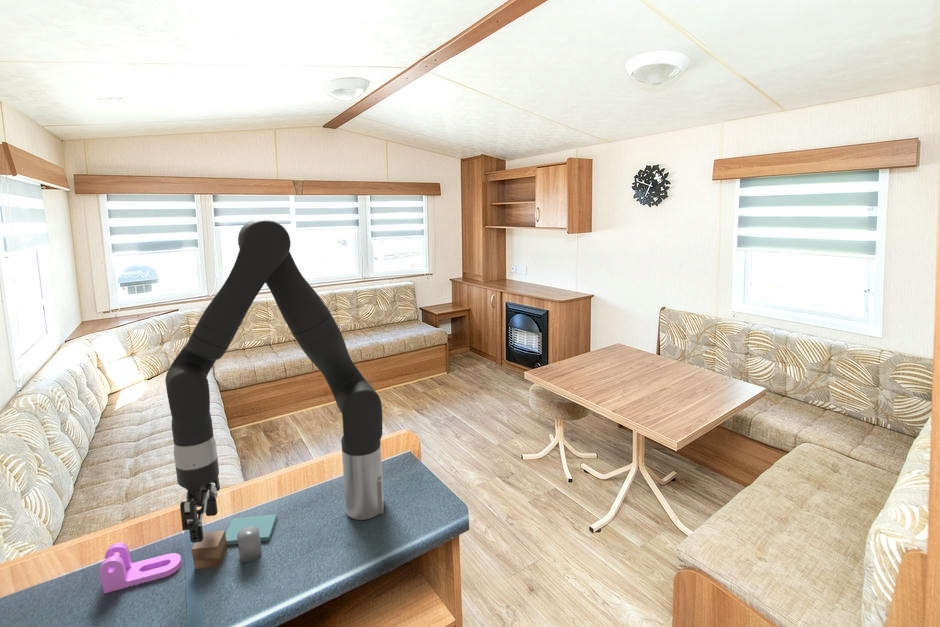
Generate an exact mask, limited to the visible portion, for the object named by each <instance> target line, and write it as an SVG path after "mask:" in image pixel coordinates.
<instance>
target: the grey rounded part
mask: <svg viewBox="0 0 940 627" xmlns="http://www.w3.org/2000/svg"><path fill="white" fill-rule="evenodd" d="M237 541H238V544H237V547H238V554H239V560H240V561H241V562H244V563H250V562H253V561H255V560H257V559H258V558H259V557H260V556H261V555H262V553H263V550H262V541H260V533H259V528H258V527H256V526H249V527H246V528H243V529H242V530H240V531H239V532H238V534H237Z"/></svg>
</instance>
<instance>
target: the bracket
mask: <svg viewBox="0 0 940 627" xmlns="http://www.w3.org/2000/svg"><path fill="white" fill-rule="evenodd" d="M130 554H131V553H130V549H129V546H128V545H127V543H124V542H116V543H113V544H111V545H109V546H108V548H107V550H106V552H105V555H104V560H103V561H102V563H101V566H100V568H99V575H100V576H99V577H100V581H101V584H102V588H103V589H102V590H103V594H107V593H110V592H115V591H118V590H121V589H126V588H129V586H130V587H133V585H134V586H137V585H140V583H141V584H144V582H145V583H147V582H148V583H149V582H151V581H155V580H158V579H162V578H166V577H169V576H171V575H173V574H174V573H176V572H177V571H178V570H180V568H181V567H182V563H183V562H182V557H181V554H179V553H177V552H174V553H173V552H172V553H166V554H162V555H158V556H154V557H151V558H146V559H143V560H139V561H135V562H133V561H132V560H131V559H132V558H131V555H130Z"/></svg>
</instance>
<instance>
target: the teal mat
mask: <svg viewBox="0 0 940 627" xmlns="http://www.w3.org/2000/svg"><path fill="white" fill-rule="evenodd" d="M277 518H278V515H277V513H276V514H265V515H264V514H263V515H254V516H247V517H236V518H235V517H234V518H232V519H231V522H230V524H229V525H228V527H227V530H226V531H225V535H226V542H227V546H229V545H238V541H237V534H238V532H239V531H240V530H242V529H243V528H246V527H249V526H256V527H258V528H259V533H260V541H261V542H264V541H270V540H271V536H272V533H273V531H274V528H275V525H276V522H277Z"/></svg>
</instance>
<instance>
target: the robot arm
mask: <svg viewBox="0 0 940 627" xmlns="http://www.w3.org/2000/svg"><path fill="white" fill-rule="evenodd" d="M237 244H238V247H239V250H238V253H237V257H236V260H235V262H234V265H233V266H232V269H231V271H230V272H229V275H228V277H227V278H226V280H225V282H224V283H223V285H222V286H221V287H220V289H219V290H218V291H217V293H216V295H214V297H213V298H212V300H211V301H210V302H209V304H208V306H207V307H206V308H205V310H204V311H203V313H202V314H201V317H200V318H199V320H198V322H197V324H196V326H194V328H193V330H192V333H191V334H190V336H189V339H188V341H187V342H186V344H185V345H184V346H183V348H182V349H181V351H180V352H179V353H178V354H177V355H176V358H175V359H174V360H173V361H172V363H171V365H170V366H169V369H168V370H167V372H166V375H165V382H164V383H165V387H166V395H167V399H168V404H169V405H168V406H169V410H170V414H171V433H172V438H173V439H172V440H173V457H174V465H175V466H174V467H175V472H176V479H177V480H176V481H177V485H179V486H180V487H181V488H184V489H185V490H187V492H186V496H185V500H186V501H180V503H179V507H180V508H179V509H180V519H181V527H182V531H189V538H190V542H191V543H194V544H195V542H201V541H202V540H203V538H204V536H203V533H204V531H203V530H204V528H203V515H204V514H205V516H206V517H211V516H212V517H214V516H217V514H218V510H219V509H218V504H217V503H218V502H217V499H218V496H219V495H218V492H220V489H221V486H220V479H219V475H220V467H219V458H218V450H217V444H216V439H215V436H214V429H213V428H214V426H213V419H212V415H211V412H210V411H211V396H210V384H209V380H208V375H209V373H210V372H211V370H212V369H213V366H214V365H215V362H216V361H217V360H220V359H221V358H223V356H224V355H225V353H226V352H227V350H228V349H229V347H230V345H231V343H232V341H233V340H234V338H235V336H236V334H237V332H238V331H239V329H240V327H241V325H242V323H243V321H244V319H245V317H246V315H247V313H248V312H249V310H250V308H251V306H252V304H253V303H254V300H255V299H256V298H257V296H258V294H259V292H260V291H261V289H262V288H263V287H264V285H265V284H266V286H267V287H268V289H269V291H270V293H271V295H272V296H273V297H272V298H273V299H274V301H275V303H276V305H277V306H276V307H278V310H279V312H280V313H281V315H282V317H283V320H284V321H285V323H286V325H287V326H288V329H289V330H290V332H291V334H292V336H293V337H294V339H295V340H296V342H297V344H298V345H299V347H300V348H301V350H302V351H303V352H304V354H305V355H306V356H307V358H308V359H309V360H310V361H311V362H312V363H313V365H314V366H315V367H316V368H317V369H318V370H319V371H320V372H321V374H322V375H323V377H324V379H325V381H326V383H327V384H328V387H329V388H330V391H331V393H332V395H333V398H334V400H335V403H336V405H337V408H338V410H339V412H340V413H341V416H342V417H341V418H342V434H343V435H342V437H341V441H340V444H341V457H342V473H343V474H342V475H343V488H344V501H345V512H346V515H347V516H348V517H349V518H351V519H353V520H359V521H364V520H370V519H372V518H375V517H377V516H379V515H383V514H384V503H385V502H384V485H383V484H384V481H383V480H384V479H383V478H384V477H383V467H382V448H381V446H382V445H381V439H382V436H383V406H382V405H383V404H382V400H381V397H380V395H379V394H378V393H377V391H376V390H375V389H374V388H373V386H372V385H371V383H369V382H368V381H367V380H366V379H365V377H364V376H363V374H362V373H361V372H360V371H359V369H358V368H357V366H356V365H355V363H354V362H353V361H352V358H351V356H350V353H349V351H348V347H347V345H346V342H345V339H344V337H343V334H342V332H341V329H340V328H339V326H338V323H337V322H336V320H335V318H334V317H333V315H332V313H331V311H330V309H329V308H328V306H327V305H326V304H325V302H324V301H323V300H322V298H321V297H320V295H319V294H318V293H317V292H316V291H315V289H314V288H313V287H312V286H311V284H310V283H309V282H308V281H307V280H306V278H305V277H304V276H303V275H302V273H301V272H300V271H301V270H299V269H298V268H299V267H298V266H297V264H296V262H295V259H293V257H292V254H291V251H290V249H291V238H290V234H289V232H288V231H287V229H286V228H285V227H284V226H283V225H282V224H280V223H279V222H277V221H274V220H271V219H265V218H259V219H253V220H250V221H248V222H246V223H245V224H244V225H243V226H242V227H241V229H240V231H239V233H238V236H237ZM197 508H200V509H197Z"/></svg>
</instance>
